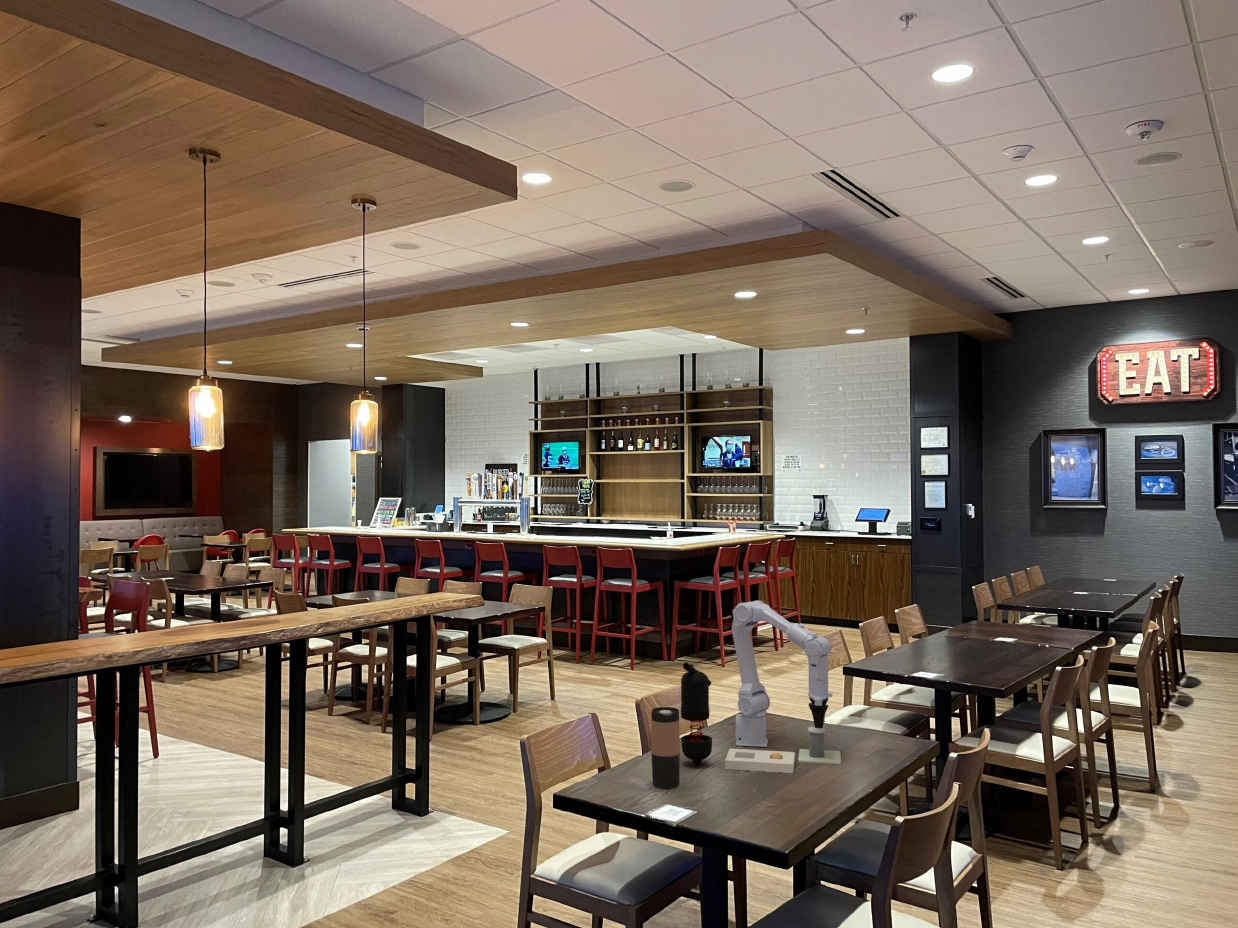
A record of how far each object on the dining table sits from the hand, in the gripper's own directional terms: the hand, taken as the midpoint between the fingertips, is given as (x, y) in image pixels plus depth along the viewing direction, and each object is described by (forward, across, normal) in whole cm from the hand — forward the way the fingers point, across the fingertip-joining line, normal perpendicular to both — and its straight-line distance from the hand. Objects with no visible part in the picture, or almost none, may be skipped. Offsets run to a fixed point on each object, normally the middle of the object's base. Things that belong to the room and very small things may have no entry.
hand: (818, 724), depth 268 cm
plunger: (+9, -11, +12) cm, 18 cm away
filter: (+10, -13, +34) cm, 38 cm away
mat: (+10, 0, 0) cm, 10 cm away
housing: (+10, -11, +16) cm, 22 cm away
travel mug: (+10, -34, +40) cm, 53 cm away
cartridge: (+9, 0, +1) cm, 9 cm away
